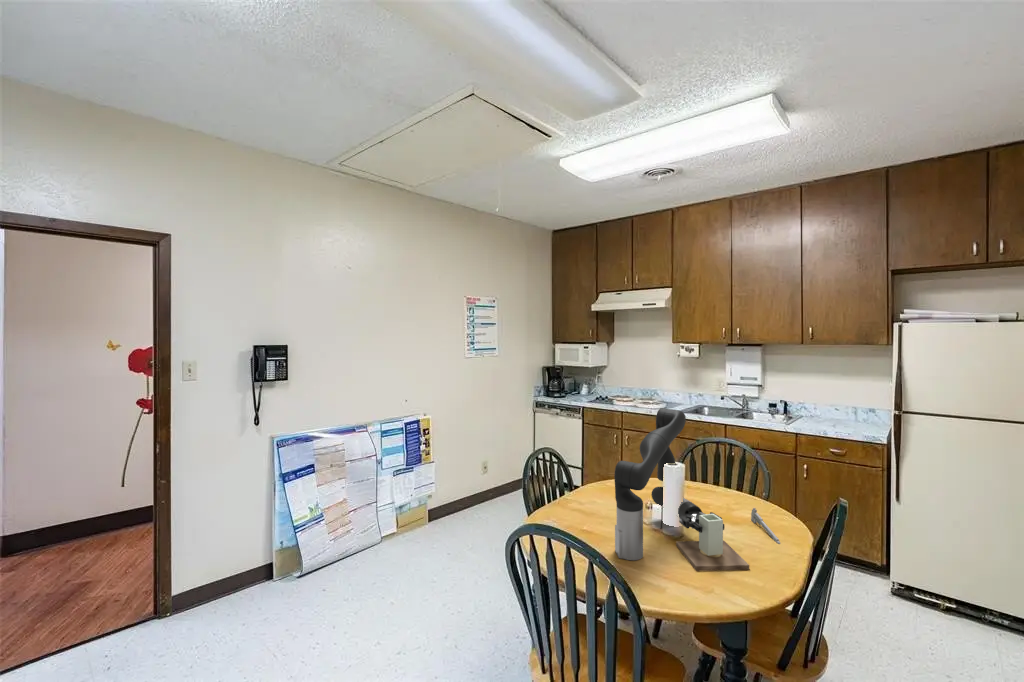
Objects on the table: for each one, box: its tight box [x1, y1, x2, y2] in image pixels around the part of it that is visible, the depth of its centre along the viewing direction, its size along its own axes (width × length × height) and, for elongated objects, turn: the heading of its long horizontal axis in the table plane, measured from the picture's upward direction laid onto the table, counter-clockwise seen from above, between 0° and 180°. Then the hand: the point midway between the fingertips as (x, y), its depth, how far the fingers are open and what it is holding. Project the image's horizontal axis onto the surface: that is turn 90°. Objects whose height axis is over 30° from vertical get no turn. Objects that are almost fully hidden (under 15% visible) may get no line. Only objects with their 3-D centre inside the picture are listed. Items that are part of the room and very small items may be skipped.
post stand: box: [675, 539, 750, 572], centre depth 167 cm, size 18×18×11 cm
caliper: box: [750, 507, 781, 545], centre depth 186 cm, size 20×1×6 cm, turn 179°
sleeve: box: [698, 513, 724, 556], centre depth 167 cm, size 6×6×12 cm
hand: (712, 528), depth 166 cm, fingers open, 8 cm apart
